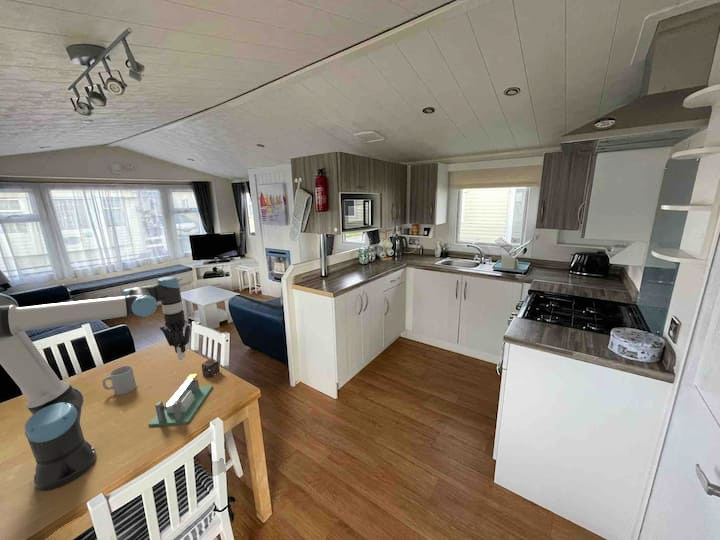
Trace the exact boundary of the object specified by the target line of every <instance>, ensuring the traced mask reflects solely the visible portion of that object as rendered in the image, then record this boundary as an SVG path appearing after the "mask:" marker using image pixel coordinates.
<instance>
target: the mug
mask: <svg viewBox="0 0 720 540" xmlns="http://www.w3.org/2000/svg"><path fill="white" fill-rule="evenodd" d="M133 370H134V369H133V367H132V366H130V365H124V366H119V367H118V368H114V369H113V370H112V371H111V372H110V373H109V374H110V375H108V376H106V377H103V380H102V387H103V388H104V390H108V391H109V390H113V392H114V395H117V396H122V395H126V394H129V393H131V392H132V391H134V390H135V389H136V388H137V383H136V379H135V374H134V371H133ZM106 381H111V384H112V385H110V386H109V385H107V384H106Z"/></svg>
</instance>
